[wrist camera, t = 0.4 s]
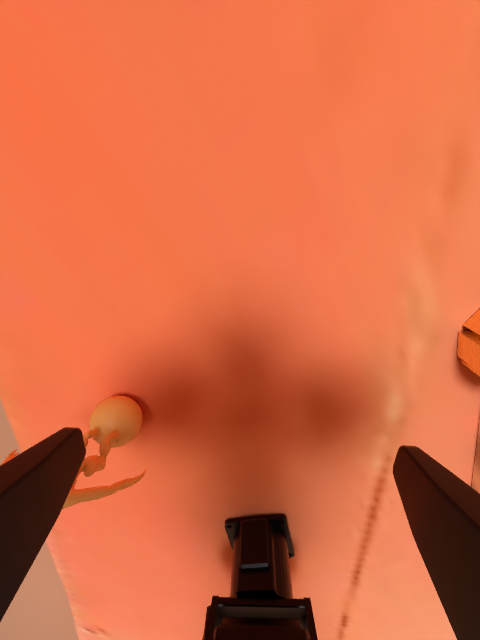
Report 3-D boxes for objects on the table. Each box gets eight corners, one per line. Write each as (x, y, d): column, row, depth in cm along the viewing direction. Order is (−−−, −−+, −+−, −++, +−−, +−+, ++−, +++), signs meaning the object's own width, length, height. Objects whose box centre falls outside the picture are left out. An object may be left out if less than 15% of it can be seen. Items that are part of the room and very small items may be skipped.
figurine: (80, 415, 26) (-48, 574, 15) (76, 357, 24) (-79, 495, 13) (171, 429, 26) (112, 597, 15) (177, 373, 24) (110, 523, 13)
